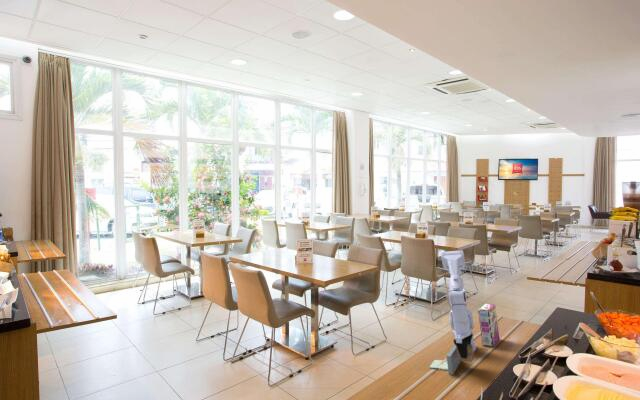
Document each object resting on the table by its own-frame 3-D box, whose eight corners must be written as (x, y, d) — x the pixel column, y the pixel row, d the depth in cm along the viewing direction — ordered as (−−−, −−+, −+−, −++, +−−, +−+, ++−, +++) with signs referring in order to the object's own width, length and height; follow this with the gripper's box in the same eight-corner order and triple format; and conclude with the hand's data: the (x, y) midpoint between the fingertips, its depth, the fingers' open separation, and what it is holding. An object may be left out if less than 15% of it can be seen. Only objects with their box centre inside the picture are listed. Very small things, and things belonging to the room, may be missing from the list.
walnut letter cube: (461, 356, 152) (459, 343, 152) (474, 357, 149) (472, 344, 149) (458, 360, 148) (456, 347, 148) (471, 362, 145) (469, 348, 145)
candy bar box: (493, 347, 166) (488, 310, 167) (482, 345, 169) (477, 309, 170) (500, 339, 175) (495, 303, 175) (489, 337, 178) (484, 303, 179)
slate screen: (457, 360, 157) (455, 343, 157) (461, 360, 156) (458, 343, 157) (448, 374, 145) (446, 356, 146) (452, 374, 145) (450, 356, 145)
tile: (435, 361, 159) (434, 359, 159) (453, 363, 155) (452, 361, 155) (429, 368, 153) (429, 366, 153) (448, 370, 149) (448, 368, 149)
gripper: (455, 315, 157) (459, 347, 157) (446, 325, 145) (450, 361, 145) (472, 315, 154) (477, 349, 153) (464, 327, 141) (469, 363, 141)
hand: (465, 355), depth 149 cm, fingers closed on walnut letter cube, 5 cm apart
